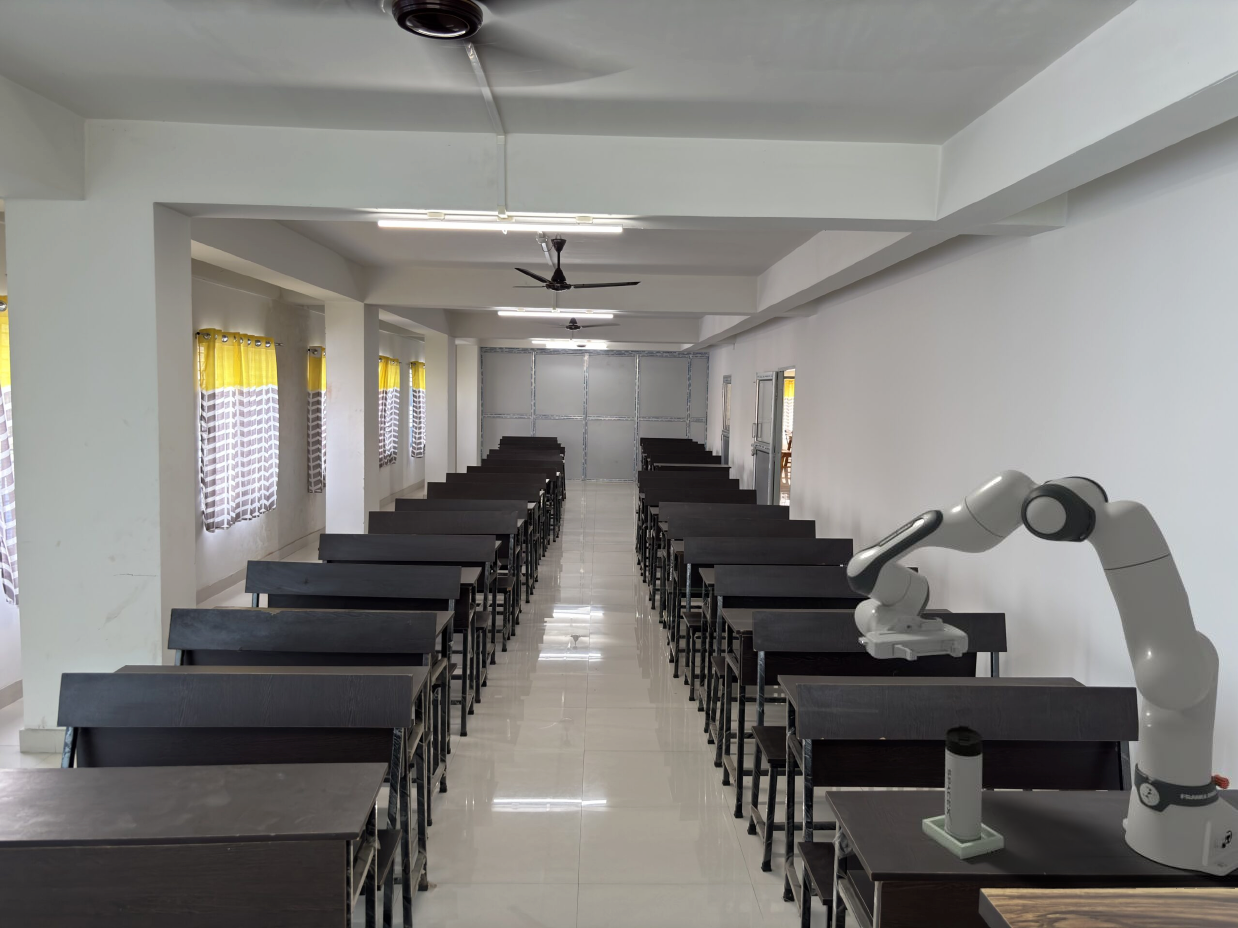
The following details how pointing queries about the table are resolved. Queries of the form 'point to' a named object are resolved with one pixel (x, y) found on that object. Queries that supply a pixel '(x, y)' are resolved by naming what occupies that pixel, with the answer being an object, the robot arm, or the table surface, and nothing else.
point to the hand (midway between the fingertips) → (936, 654)
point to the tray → (937, 832)
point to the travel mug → (963, 784)
